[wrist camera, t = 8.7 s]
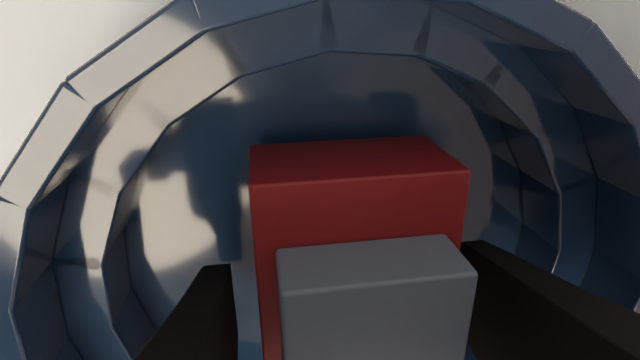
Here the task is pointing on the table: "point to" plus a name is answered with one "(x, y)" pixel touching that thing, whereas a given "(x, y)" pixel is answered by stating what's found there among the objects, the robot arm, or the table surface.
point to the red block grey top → (360, 250)
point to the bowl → (307, 126)
